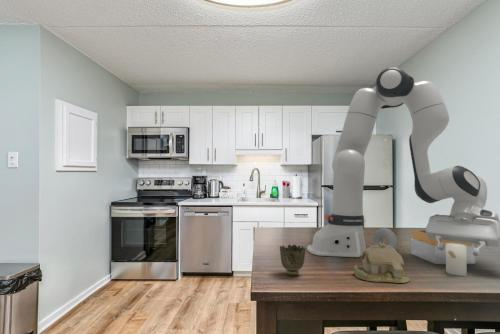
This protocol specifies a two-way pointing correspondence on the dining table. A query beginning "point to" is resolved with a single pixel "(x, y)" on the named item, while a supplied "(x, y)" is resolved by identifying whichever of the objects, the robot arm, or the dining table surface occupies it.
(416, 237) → the white orange open box
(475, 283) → the dining table surface
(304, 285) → the dining table surface
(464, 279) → the dining table surface
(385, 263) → the ceramic model
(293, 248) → the cup
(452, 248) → the spout can
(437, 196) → the robot arm
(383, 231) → the donut
